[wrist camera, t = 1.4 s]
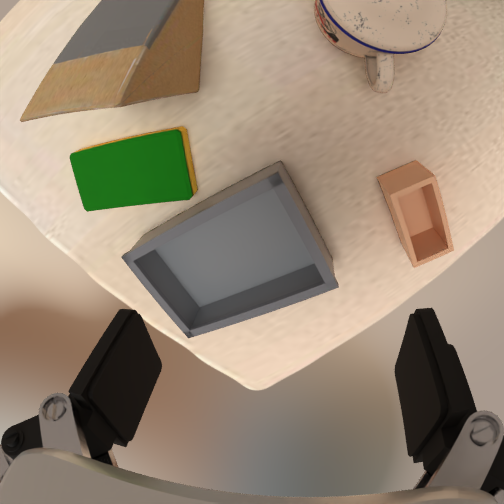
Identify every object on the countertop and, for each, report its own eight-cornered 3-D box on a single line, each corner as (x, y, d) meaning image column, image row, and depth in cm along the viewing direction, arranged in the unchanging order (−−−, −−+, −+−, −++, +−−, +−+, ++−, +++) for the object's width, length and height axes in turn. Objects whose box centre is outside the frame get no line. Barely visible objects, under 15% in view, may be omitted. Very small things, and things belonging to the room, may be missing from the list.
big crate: (281, 157, 29) (278, 172, 25) (334, 259, 34) (338, 287, 29) (141, 234, 36) (121, 257, 31) (199, 310, 40) (188, 338, 36)
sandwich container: (209, -47, 19) (142, -117, 6) (202, 92, 27) (120, 108, 14) (129, -33, 20) (33, -70, 7) (123, 96, 27) (16, 124, 15)
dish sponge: (80, 148, 31) (68, 154, 29) (187, 125, 29) (178, 129, 27) (95, 203, 35) (84, 212, 33) (199, 191, 32) (192, 200, 30)
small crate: (415, 160, 27) (434, 175, 22) (436, 227, 30) (453, 250, 26) (376, 177, 28) (389, 195, 24) (400, 242, 31) (413, 267, 27)
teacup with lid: (306, -28, 19) (309, -84, 9) (403, -19, 18) (453, -60, 8) (317, 88, 25) (329, 92, 15) (412, 94, 24) (473, 107, 14)
